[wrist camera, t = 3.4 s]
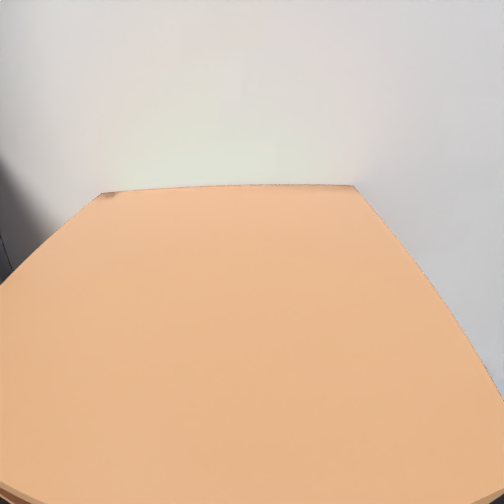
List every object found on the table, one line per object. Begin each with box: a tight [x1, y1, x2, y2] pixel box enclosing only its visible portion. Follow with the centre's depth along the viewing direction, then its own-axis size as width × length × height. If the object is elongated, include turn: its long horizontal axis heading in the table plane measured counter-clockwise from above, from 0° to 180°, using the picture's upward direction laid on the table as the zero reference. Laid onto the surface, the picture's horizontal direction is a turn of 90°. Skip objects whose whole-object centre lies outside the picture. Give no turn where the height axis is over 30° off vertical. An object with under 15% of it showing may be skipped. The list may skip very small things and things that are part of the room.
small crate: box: [0, 185, 504, 504], centre depth 8 cm, size 9×9×10 cm
